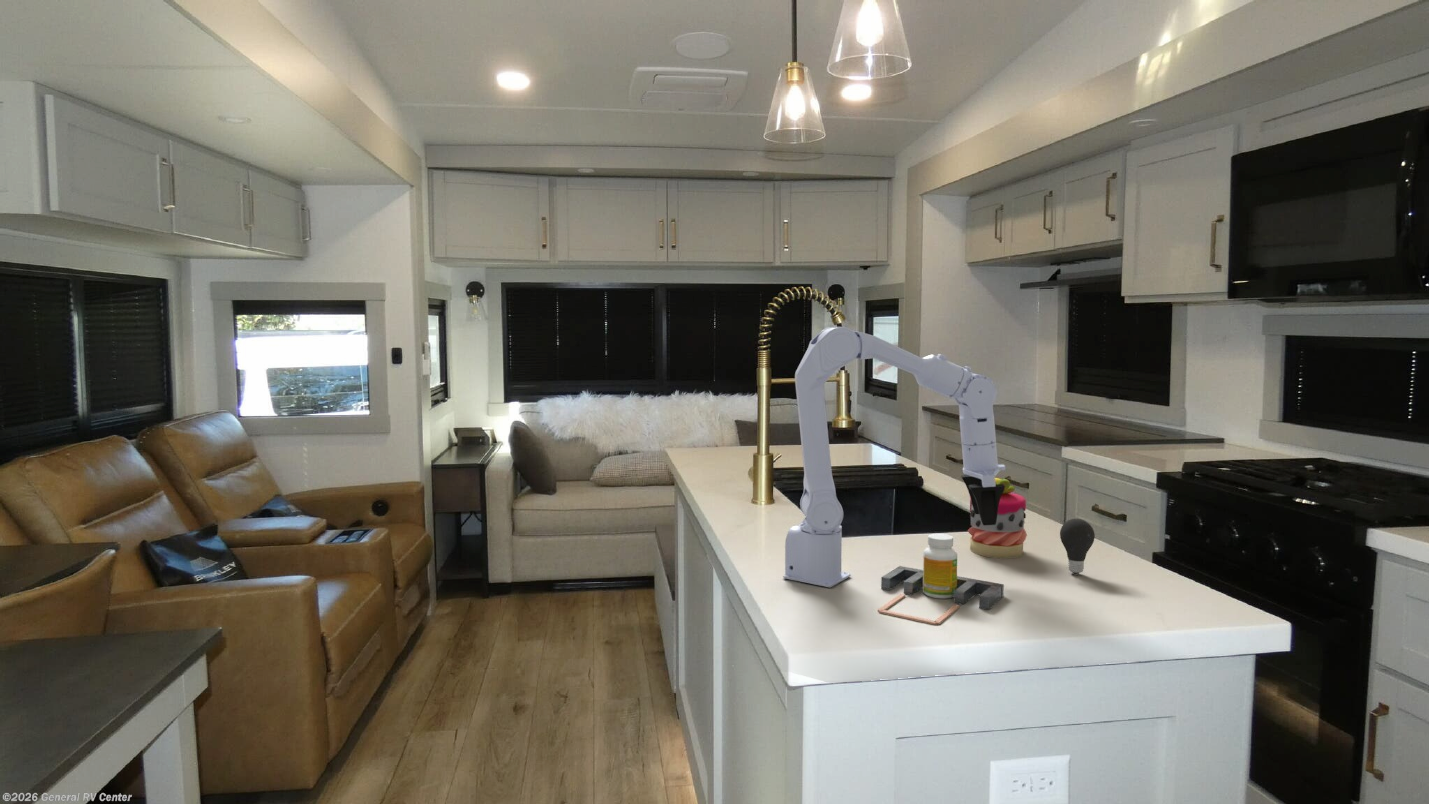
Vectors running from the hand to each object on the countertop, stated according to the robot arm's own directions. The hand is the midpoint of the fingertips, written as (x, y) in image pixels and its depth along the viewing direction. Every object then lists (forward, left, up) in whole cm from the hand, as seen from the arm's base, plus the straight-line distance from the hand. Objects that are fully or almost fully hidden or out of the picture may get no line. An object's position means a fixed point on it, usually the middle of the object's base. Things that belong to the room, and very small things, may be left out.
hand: (985, 518), depth 142 cm
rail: (-3, -13, -10) cm, 17 cm away
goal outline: (-3, -22, -10) cm, 25 cm away
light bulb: (+13, +11, -11) cm, 20 cm away
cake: (-3, +18, -11) cm, 21 cm away
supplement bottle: (-3, -13, -11) cm, 17 cm away
